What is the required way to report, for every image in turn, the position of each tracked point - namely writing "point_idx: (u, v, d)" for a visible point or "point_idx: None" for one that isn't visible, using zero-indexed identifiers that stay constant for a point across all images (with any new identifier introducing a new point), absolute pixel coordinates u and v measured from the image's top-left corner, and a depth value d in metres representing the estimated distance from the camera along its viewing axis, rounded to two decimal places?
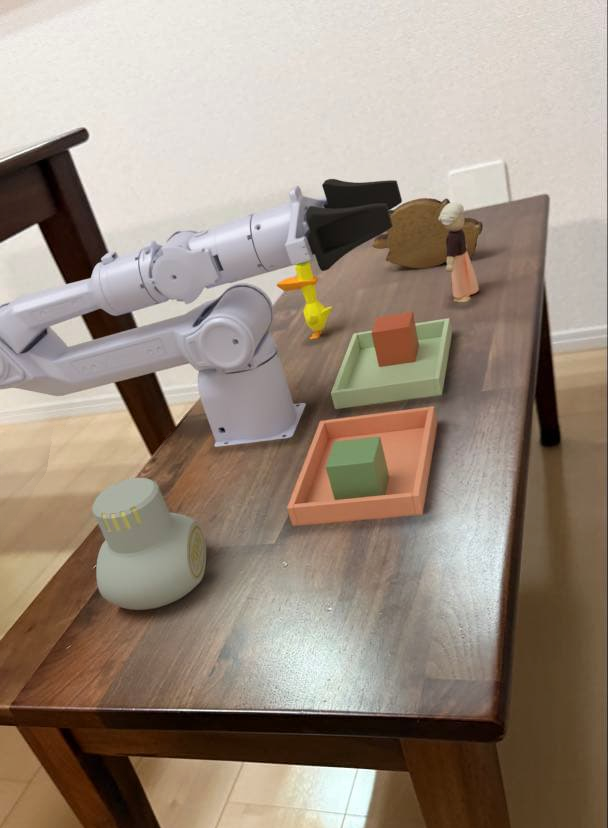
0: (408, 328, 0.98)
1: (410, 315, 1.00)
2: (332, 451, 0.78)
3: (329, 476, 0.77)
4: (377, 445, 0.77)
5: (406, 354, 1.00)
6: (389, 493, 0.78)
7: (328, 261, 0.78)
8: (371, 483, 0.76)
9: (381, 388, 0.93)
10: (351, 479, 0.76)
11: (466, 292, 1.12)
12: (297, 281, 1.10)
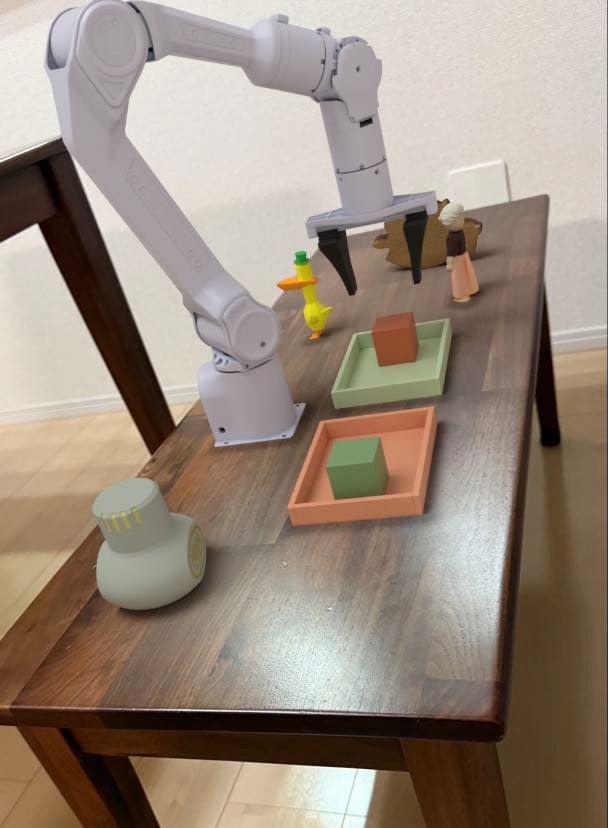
0: (408, 328, 0.98)
1: (410, 315, 1.00)
2: (332, 451, 0.78)
3: (329, 476, 0.77)
4: (377, 445, 0.77)
5: (406, 354, 1.00)
6: (389, 493, 0.78)
7: (425, 229, 0.91)
8: (371, 483, 0.76)
9: (381, 388, 0.93)
10: (351, 479, 0.76)
11: (466, 292, 1.12)
12: (297, 281, 1.10)
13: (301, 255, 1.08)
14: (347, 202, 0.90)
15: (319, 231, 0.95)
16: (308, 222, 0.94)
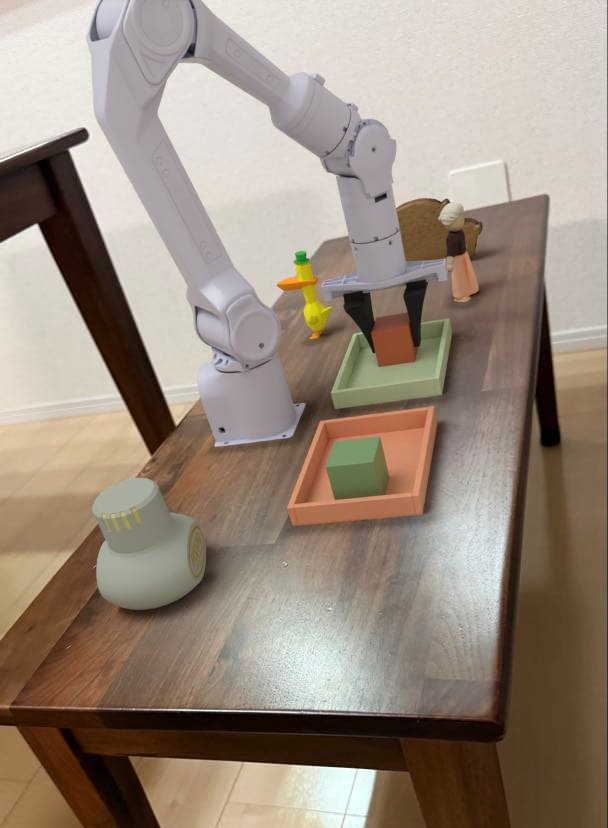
0: (408, 328, 0.98)
1: None
2: (332, 451, 0.78)
3: (329, 476, 0.77)
4: (377, 445, 0.77)
5: (406, 354, 1.00)
6: (389, 493, 0.78)
7: (424, 297, 0.95)
8: (371, 483, 0.76)
9: (381, 388, 0.93)
10: (351, 479, 0.76)
11: (466, 292, 1.12)
12: (297, 281, 1.10)
13: (301, 255, 1.08)
14: (361, 269, 0.95)
15: (345, 293, 0.99)
16: (324, 287, 0.98)
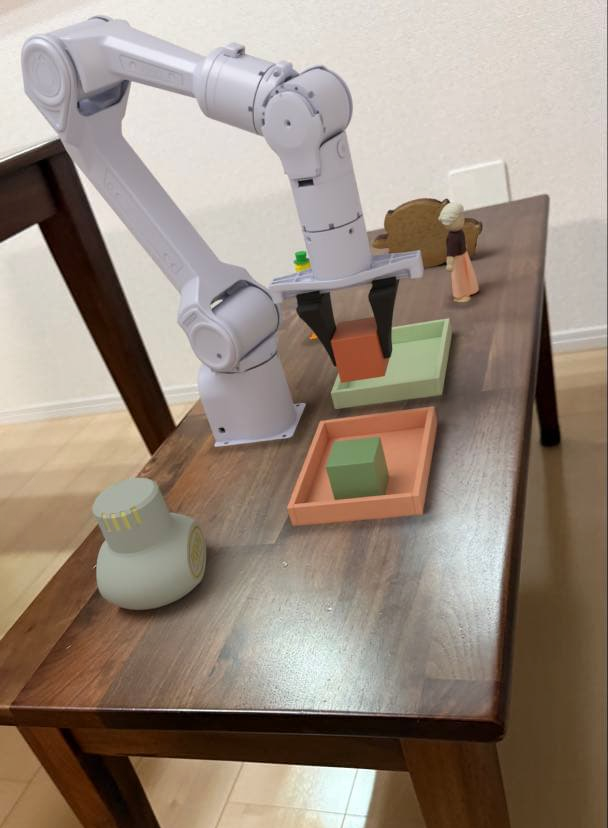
0: (375, 336, 0.80)
1: None
2: (332, 451, 0.78)
3: (329, 476, 0.77)
4: (377, 445, 0.77)
5: (374, 367, 0.82)
6: (389, 493, 0.78)
7: (394, 298, 0.78)
8: (371, 483, 0.76)
9: (381, 388, 0.93)
10: (351, 479, 0.76)
11: (466, 292, 1.12)
12: None
13: (301, 255, 1.08)
14: (316, 264, 0.77)
15: (298, 293, 0.81)
16: (272, 286, 0.80)
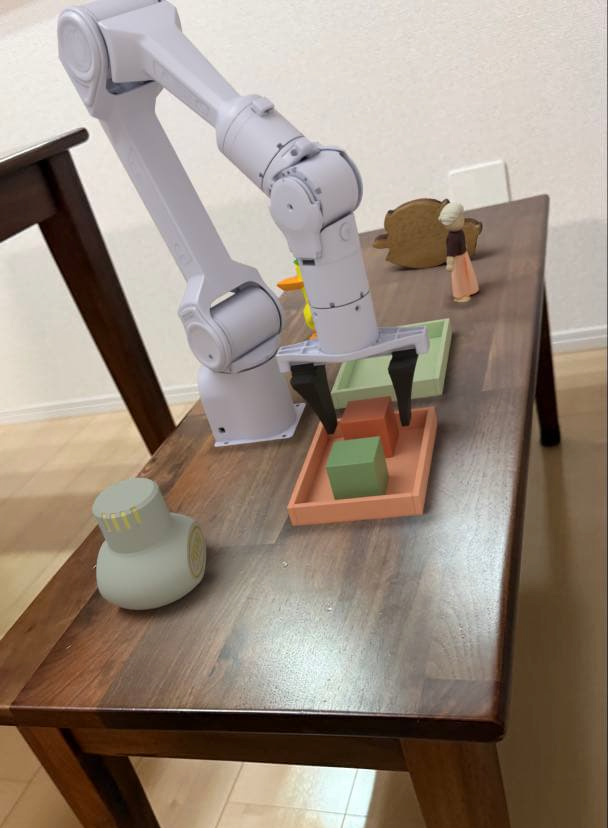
0: (383, 419, 0.81)
1: (387, 401, 0.83)
2: (332, 451, 0.78)
3: (329, 476, 0.77)
4: (377, 445, 0.77)
5: None
6: (389, 493, 0.78)
7: (414, 371, 0.78)
8: (371, 483, 0.76)
9: (381, 388, 0.93)
10: (351, 479, 0.76)
11: (466, 292, 1.12)
12: (297, 281, 1.10)
13: None
14: (323, 339, 0.77)
15: (292, 365, 0.82)
16: (279, 356, 0.81)
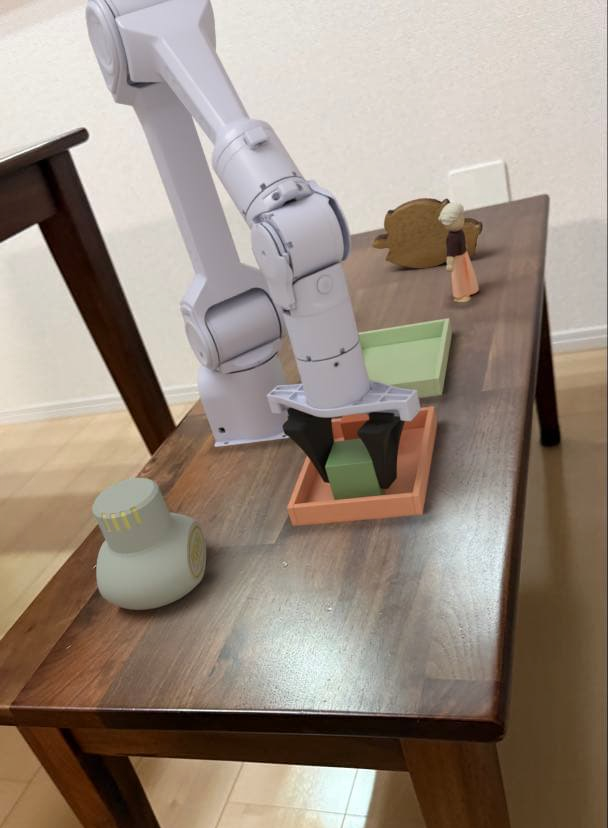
0: None
1: None
2: (332, 451, 0.78)
3: (329, 476, 0.77)
4: None
5: None
6: (389, 493, 0.78)
7: (386, 437, 0.71)
8: (371, 483, 0.76)
9: None
10: (350, 479, 0.76)
11: (466, 292, 1.12)
12: None
13: None
14: (304, 389, 0.73)
15: (290, 407, 0.77)
16: (270, 396, 0.77)
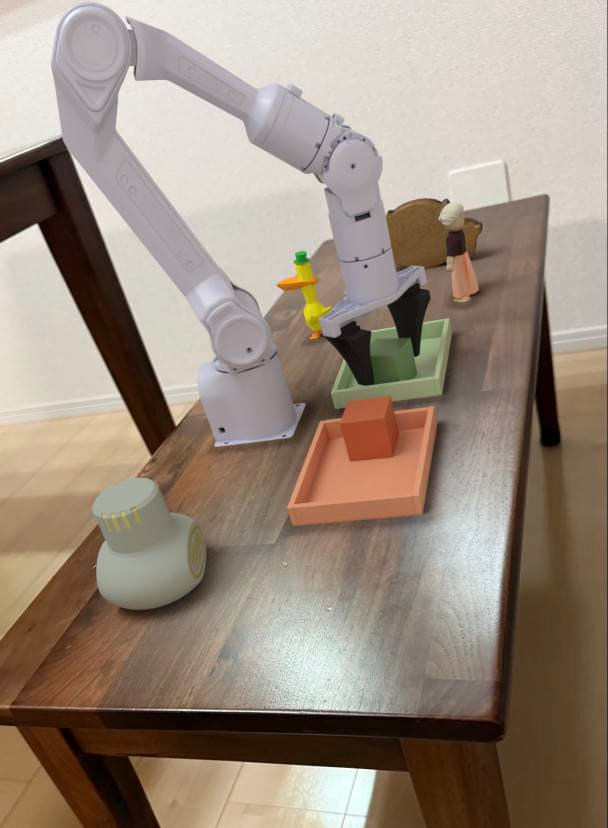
0: (383, 419, 0.81)
1: (387, 401, 0.83)
2: (373, 355, 0.93)
3: (396, 364, 0.93)
4: (388, 338, 0.96)
5: (382, 448, 0.83)
6: (389, 493, 0.78)
7: None
8: (412, 358, 0.96)
9: (381, 388, 0.93)
10: (404, 360, 0.94)
11: (466, 292, 1.12)
12: (297, 281, 1.10)
13: (301, 255, 1.08)
14: (373, 287, 0.88)
15: None
16: (334, 320, 0.87)
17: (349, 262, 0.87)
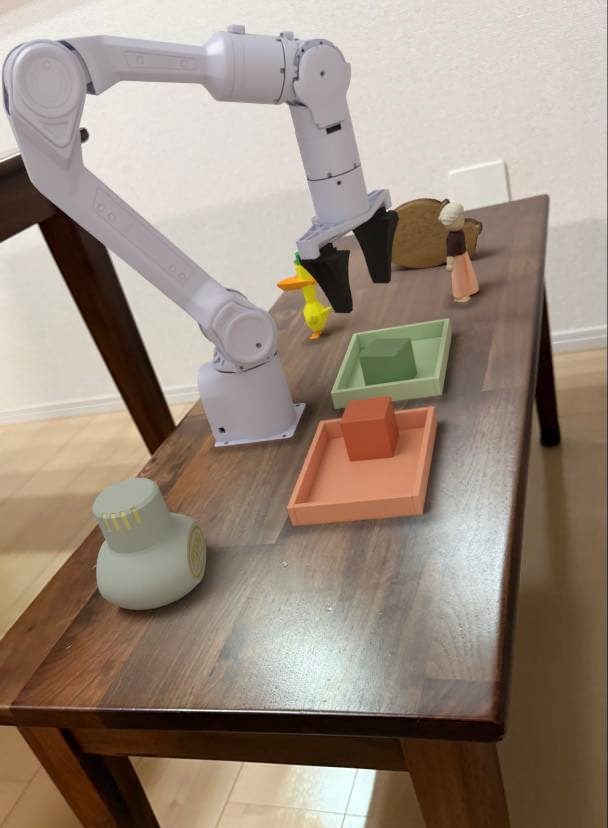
0: (383, 419, 0.81)
1: (387, 401, 0.83)
2: (373, 355, 0.93)
3: (396, 364, 0.93)
4: (388, 338, 0.96)
5: (382, 448, 0.83)
6: (389, 493, 0.78)
7: None
8: (412, 358, 0.96)
9: (381, 388, 0.93)
10: (404, 360, 0.94)
11: (466, 292, 1.12)
12: (297, 281, 1.10)
13: None
14: (347, 205, 0.86)
15: None
16: (313, 240, 0.84)
17: (321, 180, 0.84)
